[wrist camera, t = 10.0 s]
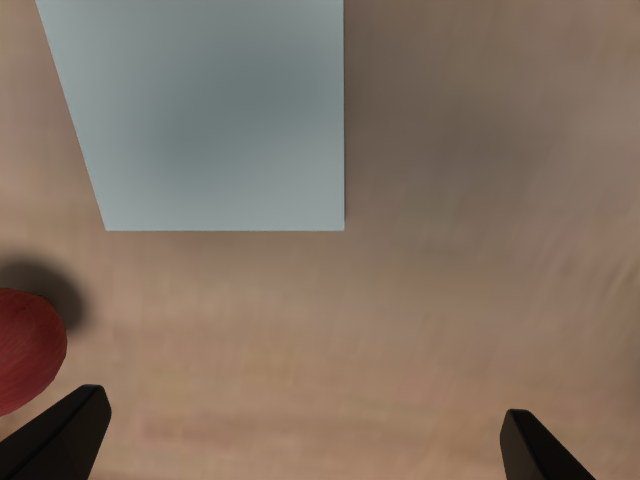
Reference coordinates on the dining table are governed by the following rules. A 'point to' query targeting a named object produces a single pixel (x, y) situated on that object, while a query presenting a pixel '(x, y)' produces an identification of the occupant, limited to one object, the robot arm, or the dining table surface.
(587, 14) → the dining table surface
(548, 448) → the robot arm
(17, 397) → the onion
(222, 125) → the dock
